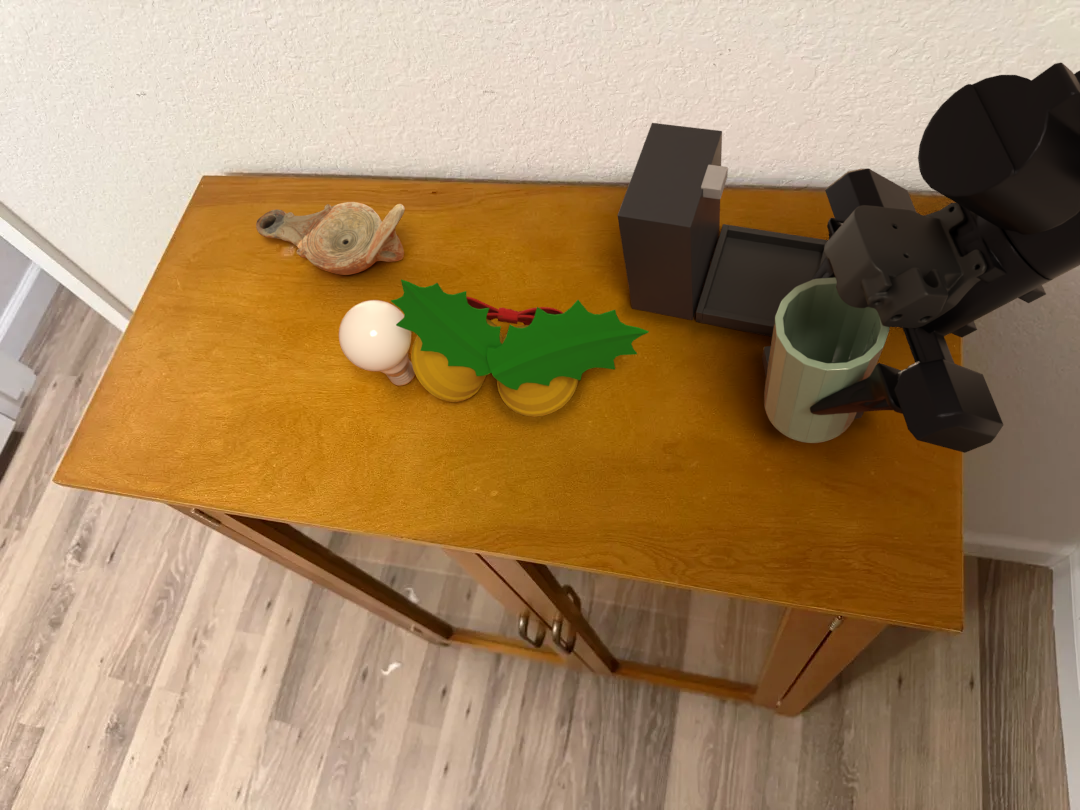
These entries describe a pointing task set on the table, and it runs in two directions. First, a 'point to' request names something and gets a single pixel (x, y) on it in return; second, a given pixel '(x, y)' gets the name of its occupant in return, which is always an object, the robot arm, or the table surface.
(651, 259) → the coffee maker
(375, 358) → the lightbulb
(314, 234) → the oil lamp
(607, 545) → the table surface
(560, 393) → the ornament
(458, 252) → the table surface
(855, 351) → the cup
